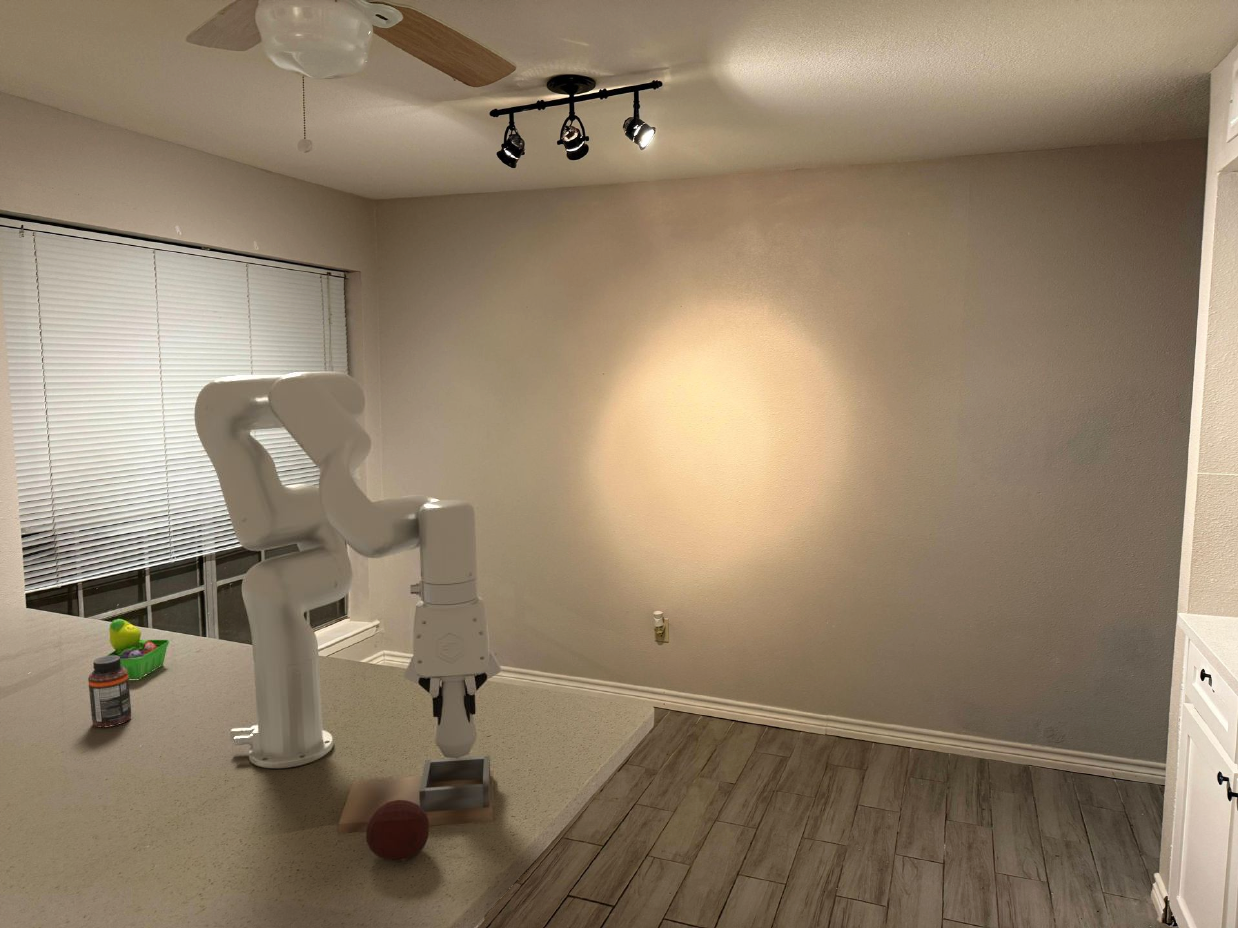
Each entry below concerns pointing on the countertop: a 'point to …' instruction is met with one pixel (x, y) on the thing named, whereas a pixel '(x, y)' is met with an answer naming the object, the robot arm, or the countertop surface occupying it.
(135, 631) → the fruit basket
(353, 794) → the shaker caddy
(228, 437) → the robot arm
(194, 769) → the countertop surface
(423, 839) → the dark red ball
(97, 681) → the supplement bottle
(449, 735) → the salt shaker
